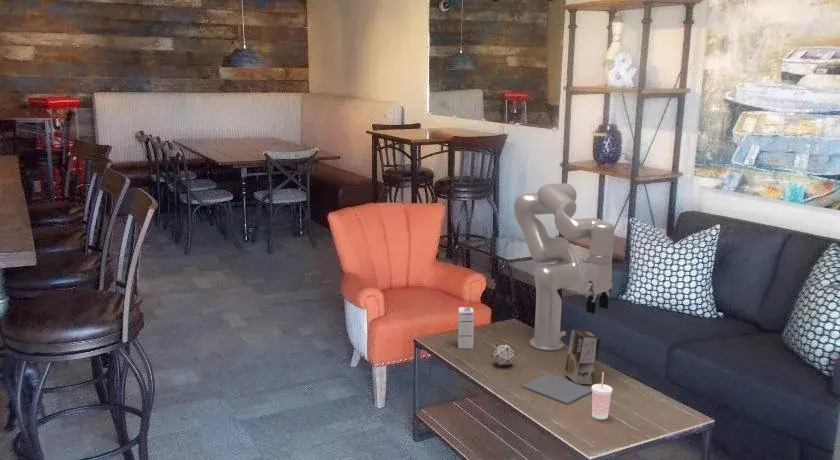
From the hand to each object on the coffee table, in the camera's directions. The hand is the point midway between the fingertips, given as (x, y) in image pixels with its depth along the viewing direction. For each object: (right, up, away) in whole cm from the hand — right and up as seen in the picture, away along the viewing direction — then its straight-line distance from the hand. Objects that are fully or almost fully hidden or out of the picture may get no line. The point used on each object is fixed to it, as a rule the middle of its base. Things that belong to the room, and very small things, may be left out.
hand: (597, 309), depth 247 cm
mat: (-15, -25, -9) cm, 31 cm away
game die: (-31, -21, +10) cm, 38 cm away
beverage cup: (-6, -29, -28) cm, 41 cm away
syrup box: (-43, -17, +28) cm, 54 cm away
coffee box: (-7, -23, -2) cm, 24 cm away
